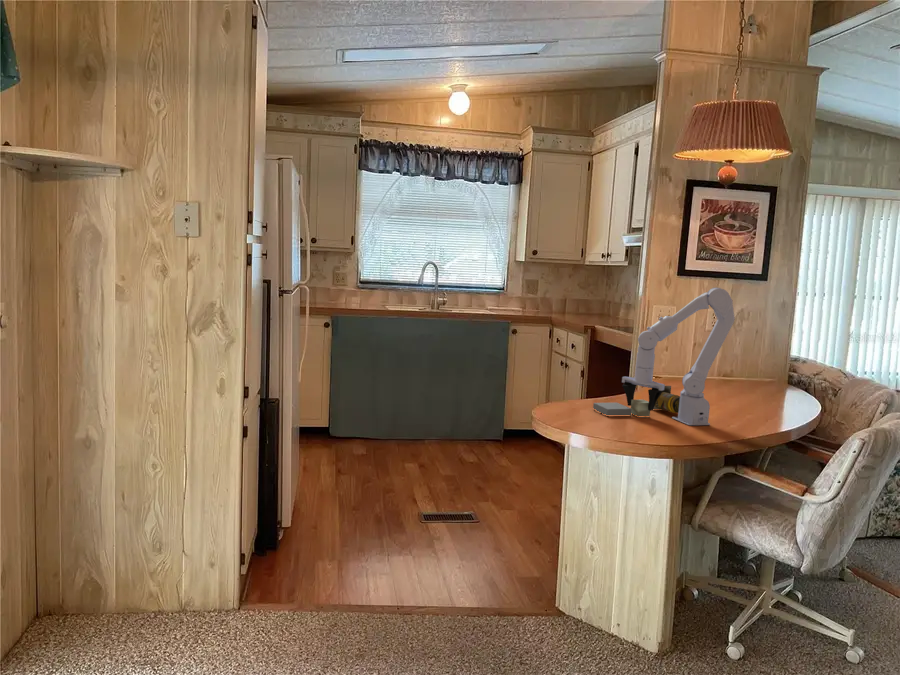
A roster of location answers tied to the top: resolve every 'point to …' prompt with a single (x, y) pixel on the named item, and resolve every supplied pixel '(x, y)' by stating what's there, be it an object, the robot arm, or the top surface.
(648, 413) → the sage block
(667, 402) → the condiment
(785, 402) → the top surface
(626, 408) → the plate
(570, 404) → the top surface
